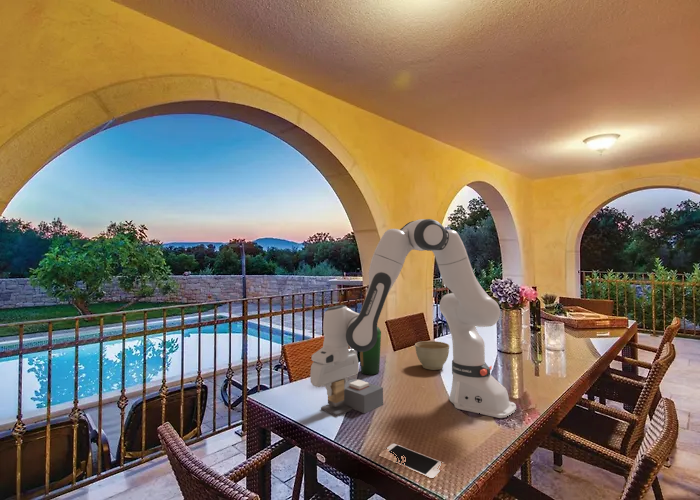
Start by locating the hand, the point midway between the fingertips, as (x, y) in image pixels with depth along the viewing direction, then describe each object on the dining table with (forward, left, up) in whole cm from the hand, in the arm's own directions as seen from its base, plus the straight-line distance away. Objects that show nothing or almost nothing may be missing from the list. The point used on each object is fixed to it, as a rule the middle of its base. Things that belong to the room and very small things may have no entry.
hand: (336, 392), depth 121 cm
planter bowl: (+1, -65, -6) cm, 65 cm away
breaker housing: (-2, -10, -6) cm, 11 cm away
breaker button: (-2, -10, -4) cm, 10 cm away
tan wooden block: (0, 0, -4) cm, 4 cm away
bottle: (+18, -39, -6) cm, 43 cm away
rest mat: (0, 0, -6) cm, 6 cm away
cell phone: (-36, +7, -7) cm, 37 cm away
